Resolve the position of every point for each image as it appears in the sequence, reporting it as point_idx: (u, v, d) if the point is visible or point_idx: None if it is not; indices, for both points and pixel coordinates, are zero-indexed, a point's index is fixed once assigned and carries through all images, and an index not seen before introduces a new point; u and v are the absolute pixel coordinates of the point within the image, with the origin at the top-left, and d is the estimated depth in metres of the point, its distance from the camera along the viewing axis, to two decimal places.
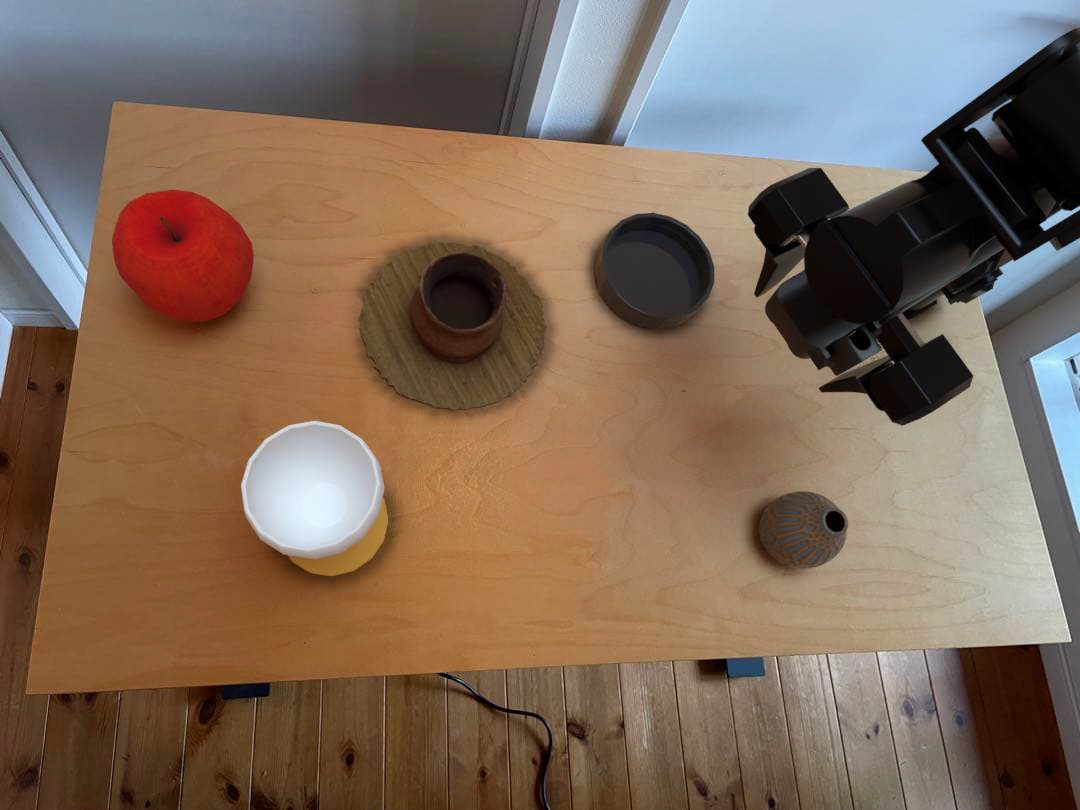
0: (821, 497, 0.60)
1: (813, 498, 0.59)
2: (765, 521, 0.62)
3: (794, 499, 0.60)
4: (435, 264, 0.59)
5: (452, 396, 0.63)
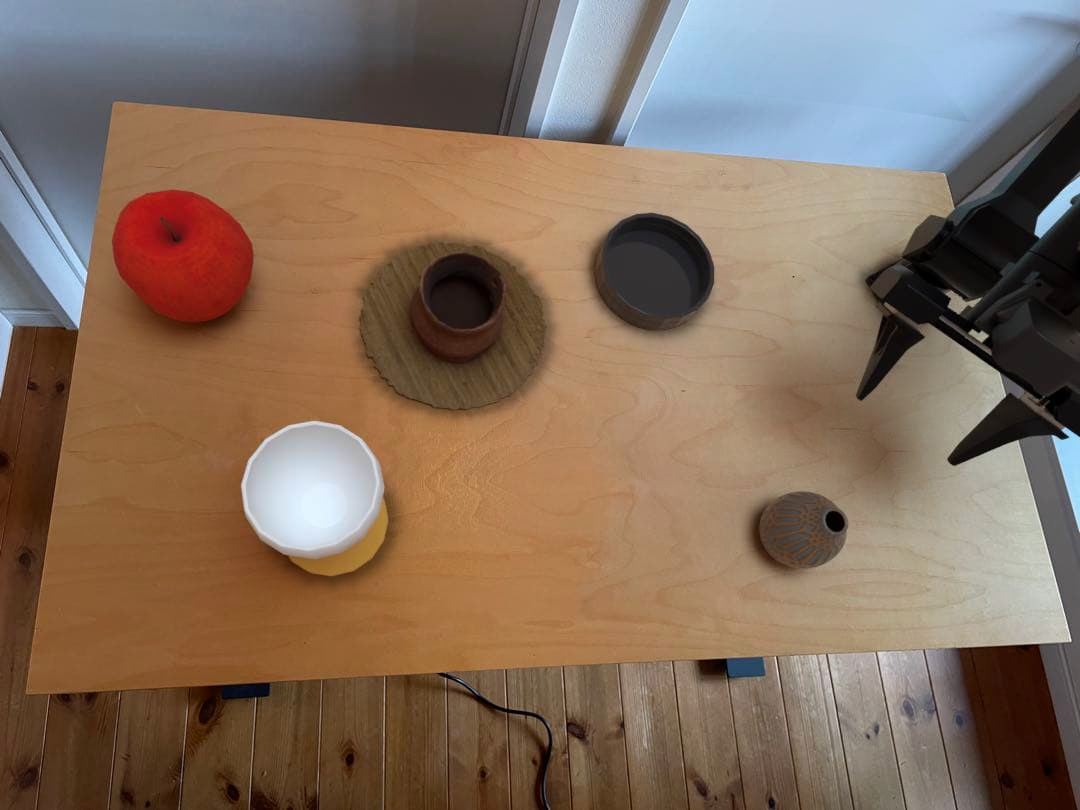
0: (821, 497, 0.60)
1: (813, 498, 0.59)
2: (765, 521, 0.62)
3: (794, 499, 0.60)
4: (435, 264, 0.59)
5: (452, 396, 0.63)
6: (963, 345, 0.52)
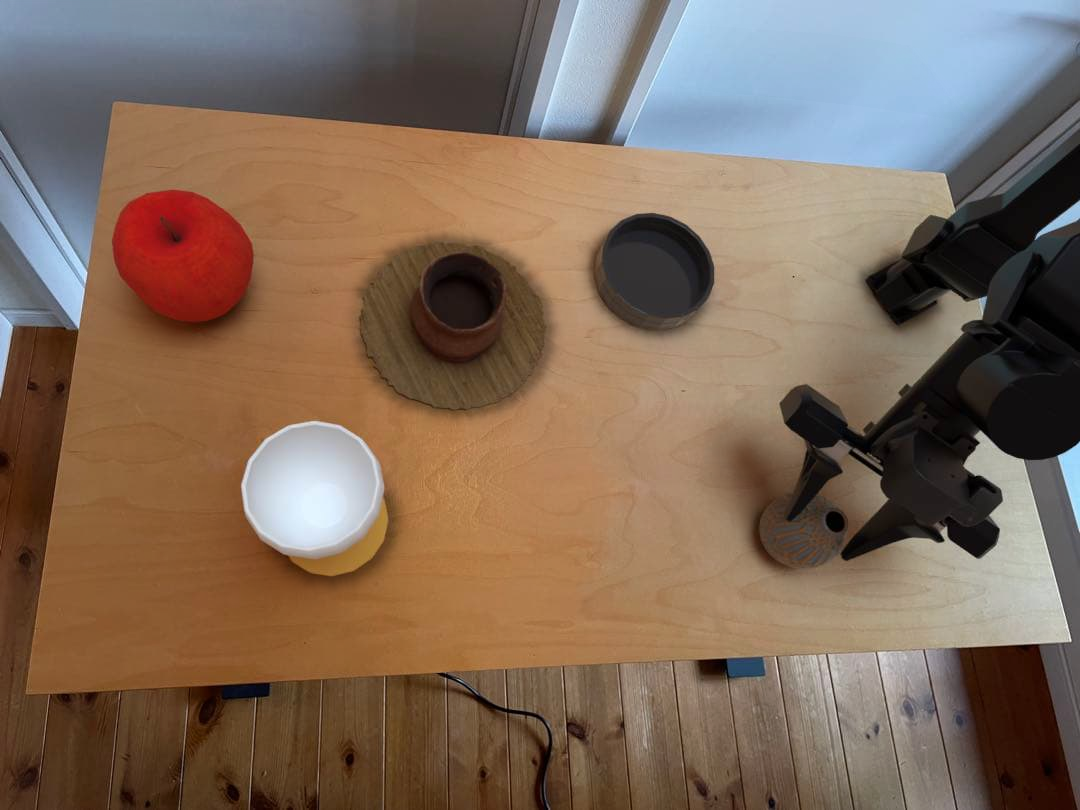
0: (821, 497, 0.60)
1: (813, 498, 0.59)
2: (765, 521, 0.62)
3: None
4: (435, 264, 0.59)
5: (452, 396, 0.63)
6: (864, 463, 0.55)
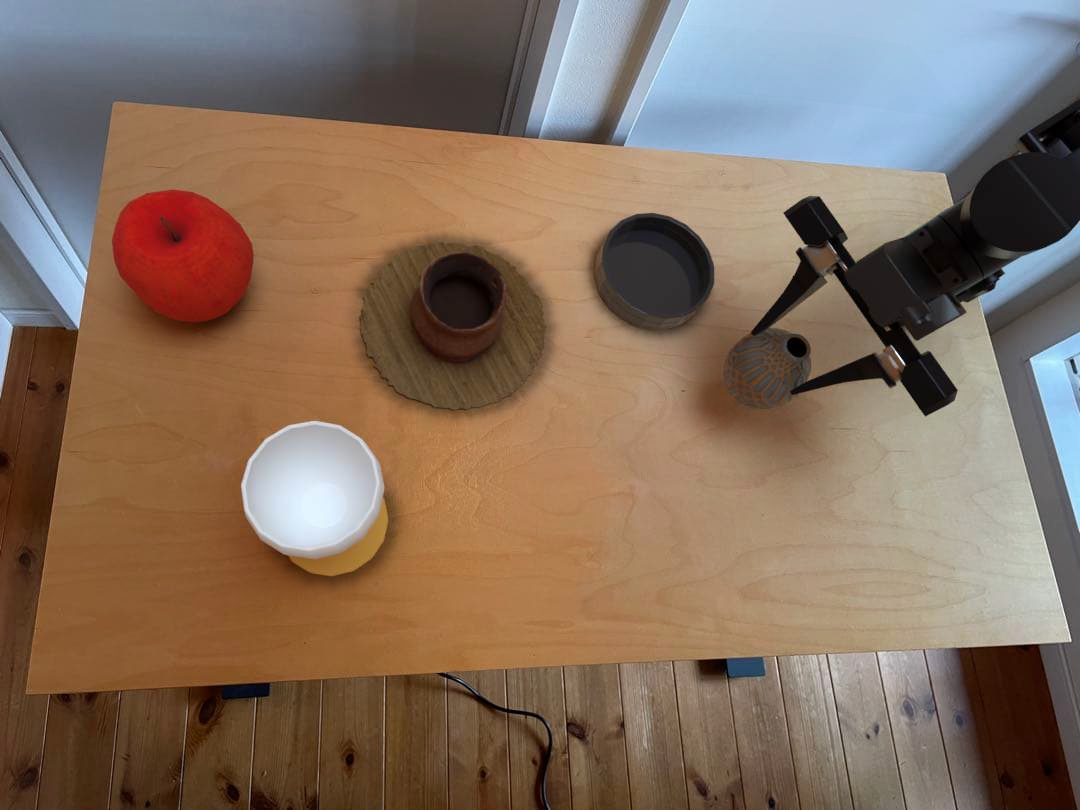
0: None
1: (787, 331, 0.58)
2: (733, 346, 0.60)
3: (769, 329, 0.58)
4: (435, 264, 0.59)
5: (452, 396, 0.63)
6: (847, 290, 0.53)
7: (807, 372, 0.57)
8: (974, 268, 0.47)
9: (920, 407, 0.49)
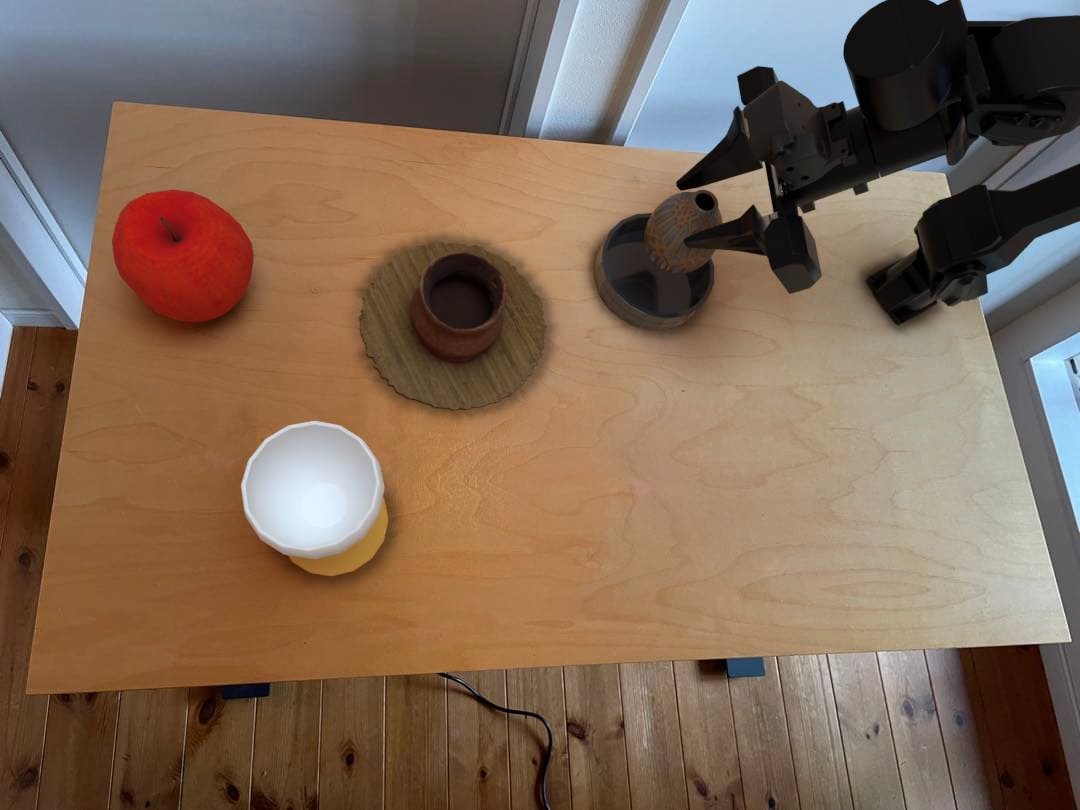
0: None
1: (711, 199, 0.61)
2: None
3: (698, 195, 0.62)
4: (435, 264, 0.59)
5: (452, 396, 0.63)
6: None
7: None
8: (866, 149, 0.50)
9: (769, 257, 0.51)
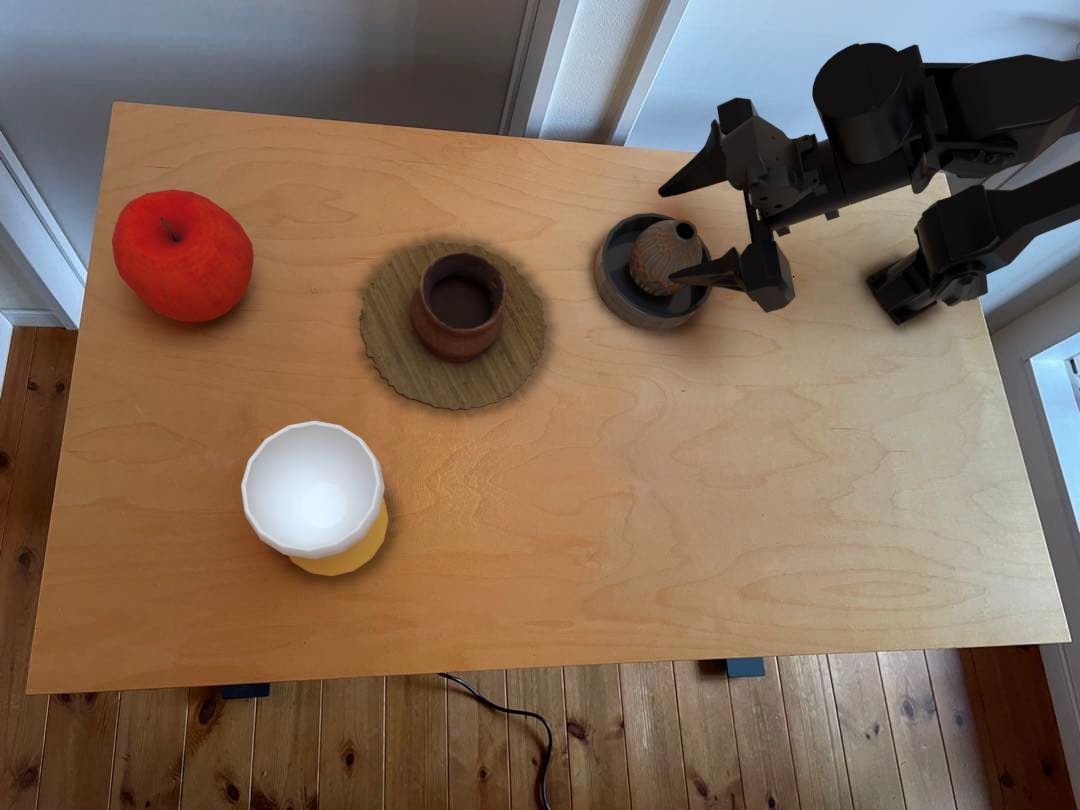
0: (697, 235, 0.65)
1: (691, 227, 0.65)
2: None
3: (679, 223, 0.67)
4: (435, 264, 0.59)
5: (452, 396, 0.63)
6: None
7: (689, 262, 0.64)
8: (836, 180, 0.53)
9: (745, 280, 0.54)
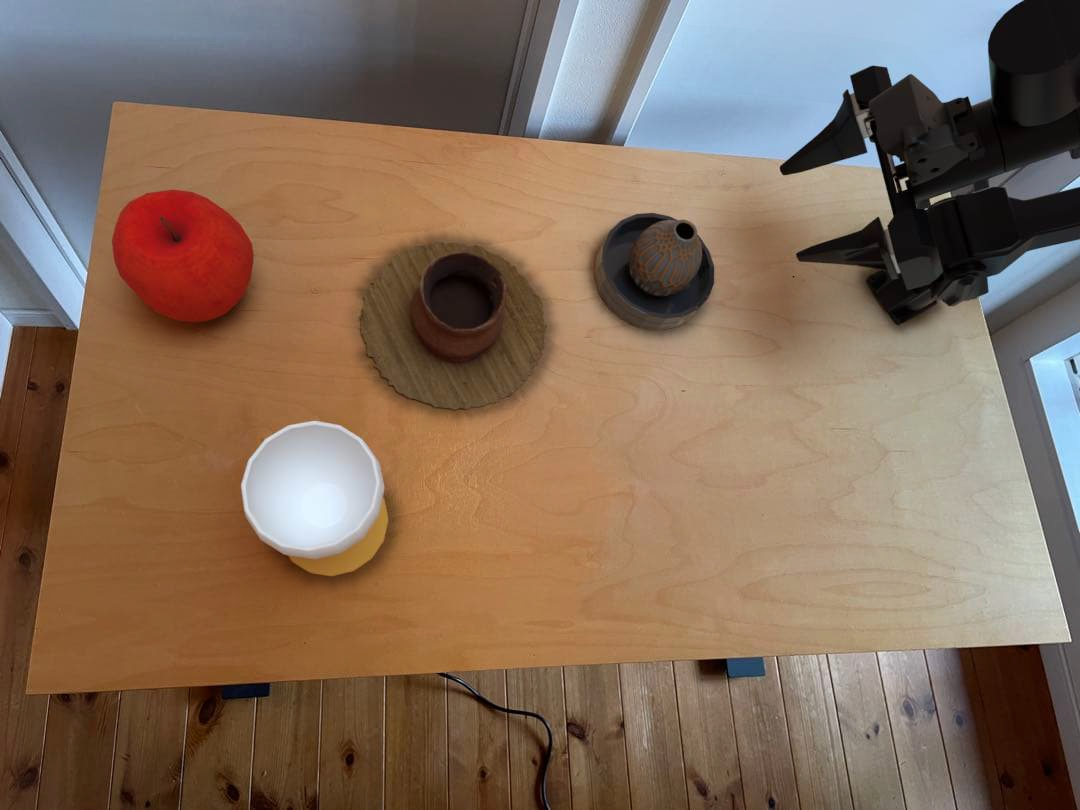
0: (697, 235, 0.65)
1: (691, 227, 0.65)
2: None
3: (679, 223, 0.67)
4: (435, 264, 0.59)
5: (452, 396, 0.63)
6: (880, 158, 0.56)
7: (689, 262, 0.64)
8: (995, 143, 0.50)
9: (895, 250, 0.51)
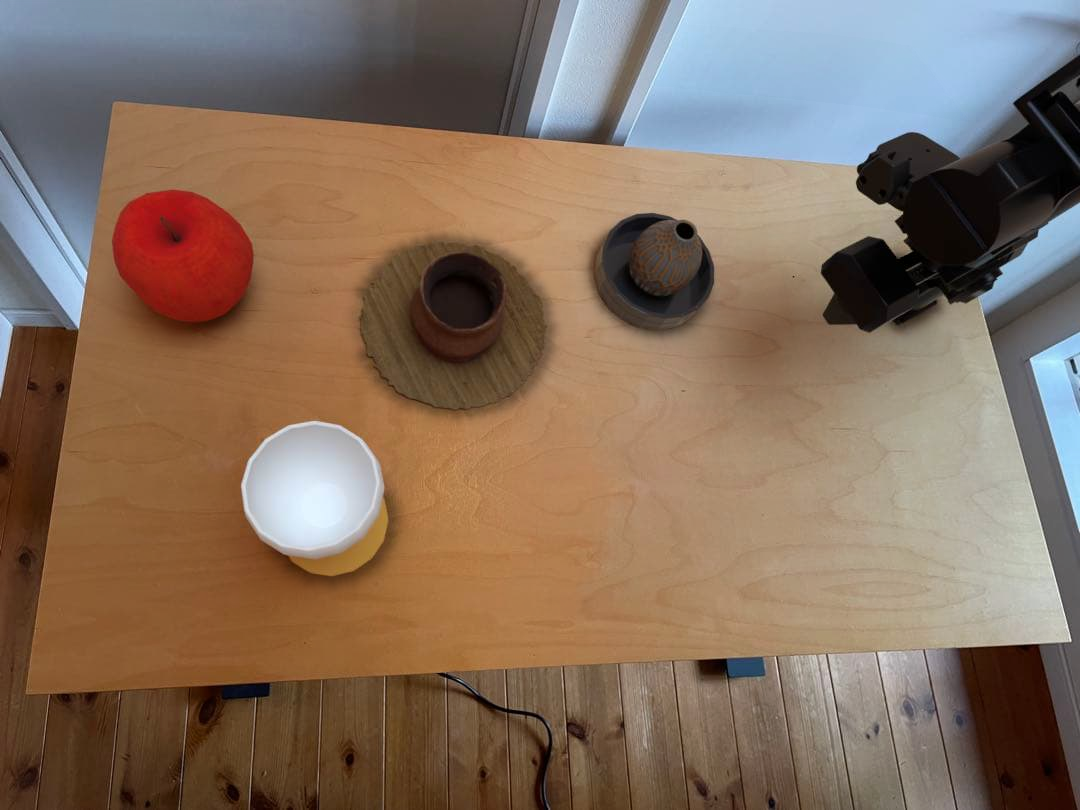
0: (697, 235, 0.65)
1: (691, 227, 0.65)
2: None
3: (679, 223, 0.67)
4: (435, 264, 0.59)
5: (452, 396, 0.63)
6: None
7: (689, 262, 0.64)
8: None
9: None
